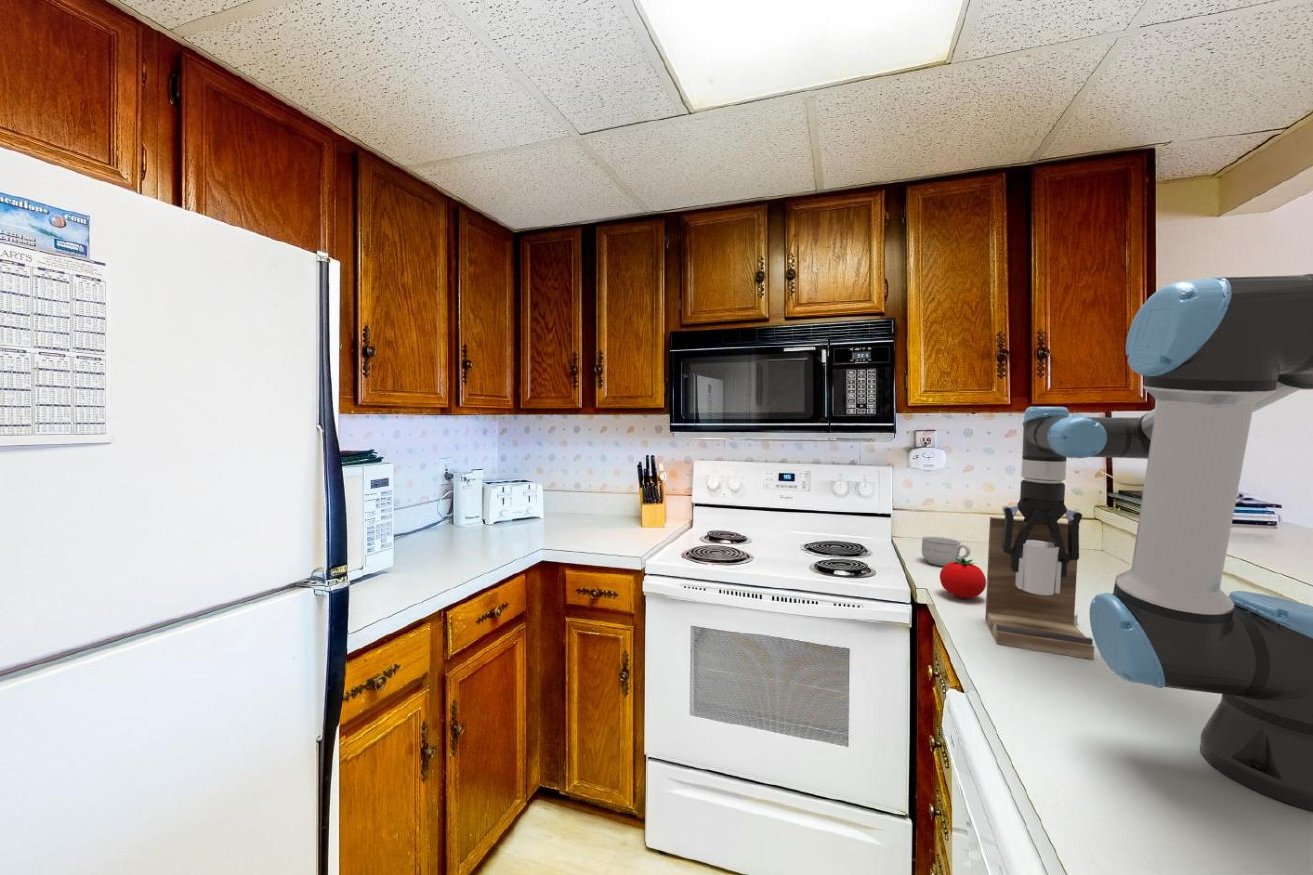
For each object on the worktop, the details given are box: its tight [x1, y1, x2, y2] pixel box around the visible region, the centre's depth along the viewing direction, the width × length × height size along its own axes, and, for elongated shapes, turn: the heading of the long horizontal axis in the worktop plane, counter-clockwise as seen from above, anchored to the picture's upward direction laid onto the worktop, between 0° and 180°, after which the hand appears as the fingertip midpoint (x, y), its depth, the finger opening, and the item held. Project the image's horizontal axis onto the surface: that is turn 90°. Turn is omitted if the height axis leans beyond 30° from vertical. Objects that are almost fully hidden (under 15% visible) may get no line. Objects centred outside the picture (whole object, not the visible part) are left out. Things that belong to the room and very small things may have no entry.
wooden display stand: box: [984, 516, 1095, 660], centre depth 112 cm, size 14×16×24 cm
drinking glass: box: [1021, 540, 1059, 595], centre depth 112 cm, size 7×7×10 cm
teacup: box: [921, 535, 971, 567], centre depth 166 cm, size 14×11×8 cm
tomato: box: [939, 557, 987, 599], centre depth 137 cm, size 10×10×10 cm
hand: (1037, 588), depth 112 cm, fingers closed on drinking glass, 6 cm apart
